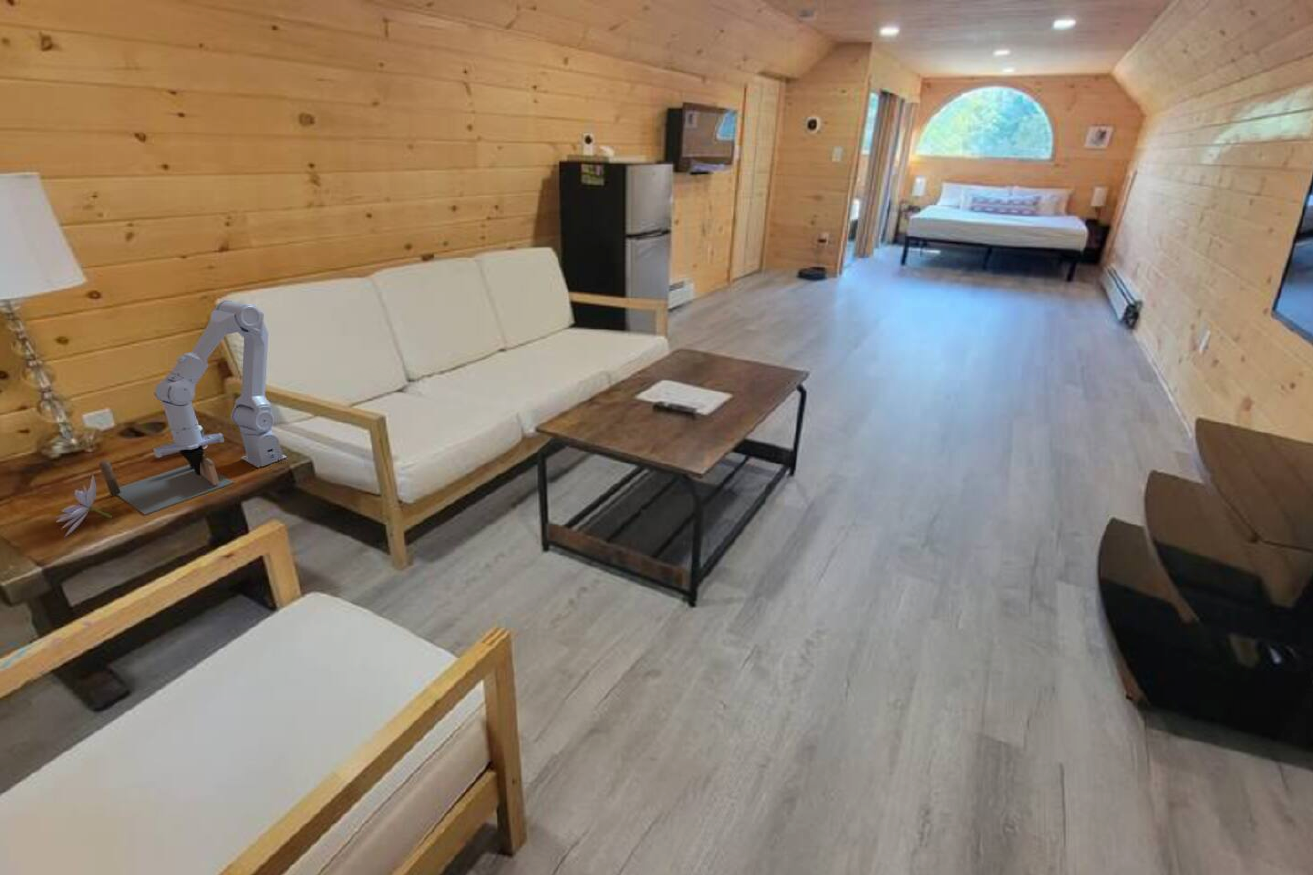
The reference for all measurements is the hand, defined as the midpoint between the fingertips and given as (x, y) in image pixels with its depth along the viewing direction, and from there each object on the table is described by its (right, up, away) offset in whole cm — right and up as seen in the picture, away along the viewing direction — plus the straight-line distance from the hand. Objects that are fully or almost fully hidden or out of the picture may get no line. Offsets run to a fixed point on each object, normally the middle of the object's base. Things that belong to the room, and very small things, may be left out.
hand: (198, 473), depth 164 cm
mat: (-6, -3, -1) cm, 7 cm away
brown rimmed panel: (0, -1, +3) cm, 4 cm away
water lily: (-15, -11, -16) cm, 24 cm away
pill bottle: (-15, +6, +20) cm, 26 cm away
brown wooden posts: (-12, -2, +2) cm, 13 cm away
